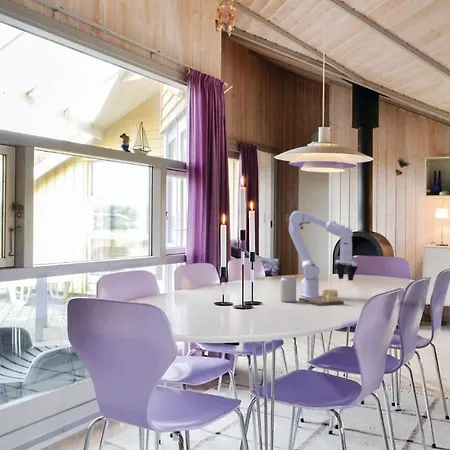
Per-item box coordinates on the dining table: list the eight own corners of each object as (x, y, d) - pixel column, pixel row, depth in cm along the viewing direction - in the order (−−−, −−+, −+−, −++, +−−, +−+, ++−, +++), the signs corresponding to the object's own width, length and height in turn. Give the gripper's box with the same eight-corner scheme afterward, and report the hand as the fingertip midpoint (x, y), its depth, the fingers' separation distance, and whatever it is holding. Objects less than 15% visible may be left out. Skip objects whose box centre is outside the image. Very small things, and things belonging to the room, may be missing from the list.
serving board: (298, 300, 238) (299, 298, 238) (323, 298, 244) (323, 296, 244) (318, 305, 223) (318, 303, 223) (343, 303, 229) (343, 301, 229)
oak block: (322, 300, 232) (322, 289, 232) (331, 299, 234) (331, 288, 234) (328, 301, 228) (328, 290, 228) (337, 301, 230) (337, 290, 229)
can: (283, 302, 231) (284, 277, 231) (277, 300, 238) (278, 275, 238) (298, 302, 233) (298, 276, 233) (292, 299, 240) (292, 275, 240)
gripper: (362, 252, 240) (361, 280, 240) (343, 251, 253) (343, 277, 254) (350, 253, 237) (349, 281, 237) (332, 251, 251) (331, 278, 251)
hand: (345, 279), depth 245 cm, fingers open, 7 cm apart
